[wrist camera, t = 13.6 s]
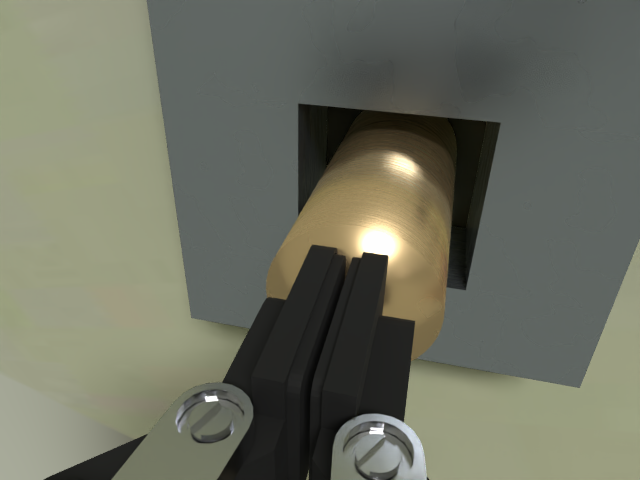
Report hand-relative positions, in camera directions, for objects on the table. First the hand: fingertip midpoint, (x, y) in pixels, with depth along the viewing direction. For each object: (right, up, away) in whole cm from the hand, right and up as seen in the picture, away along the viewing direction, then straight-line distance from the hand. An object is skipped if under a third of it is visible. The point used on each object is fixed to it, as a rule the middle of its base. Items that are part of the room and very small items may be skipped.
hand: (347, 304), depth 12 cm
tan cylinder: (+2, +5, +7) cm, 9 cm away
